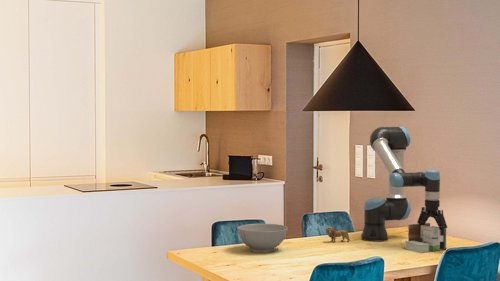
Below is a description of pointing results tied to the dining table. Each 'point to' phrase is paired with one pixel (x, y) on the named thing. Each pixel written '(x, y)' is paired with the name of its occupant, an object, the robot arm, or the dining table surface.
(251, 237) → the decorative bowl
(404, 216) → the robot arm
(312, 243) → the dining table surface
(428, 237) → the ink box
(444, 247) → the bookend
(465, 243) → the dining table surface
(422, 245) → the flat grey box
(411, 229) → the shelf
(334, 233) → the lion figurine
